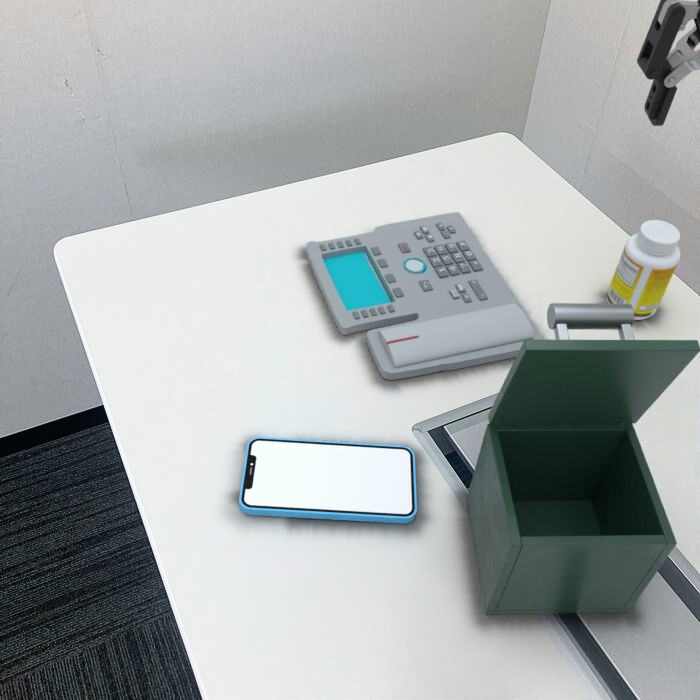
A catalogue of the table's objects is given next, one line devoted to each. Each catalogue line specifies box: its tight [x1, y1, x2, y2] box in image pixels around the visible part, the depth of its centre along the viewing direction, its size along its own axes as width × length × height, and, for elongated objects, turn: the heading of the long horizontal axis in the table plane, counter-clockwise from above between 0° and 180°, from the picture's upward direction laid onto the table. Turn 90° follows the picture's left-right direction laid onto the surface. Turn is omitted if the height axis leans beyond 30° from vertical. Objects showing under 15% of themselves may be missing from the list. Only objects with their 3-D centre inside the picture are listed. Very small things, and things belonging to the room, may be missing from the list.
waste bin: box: [465, 423, 678, 615], centre depth 58 cm, size 10×11×11 cm
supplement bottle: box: [606, 219, 681, 321], centre depth 80 cm, size 6×6×10 cm
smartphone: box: [238, 436, 418, 524], centre depth 66 cm, size 8×1×15 cm
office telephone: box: [305, 211, 545, 381], centre depth 83 cm, size 23×3×20 cm
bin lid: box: [487, 302, 700, 424], centre depth 54 cm, size 11×11×5 cm
